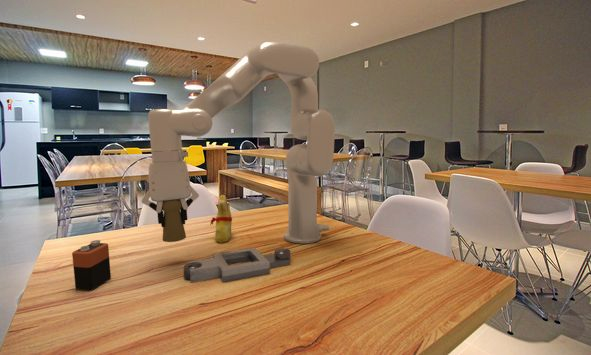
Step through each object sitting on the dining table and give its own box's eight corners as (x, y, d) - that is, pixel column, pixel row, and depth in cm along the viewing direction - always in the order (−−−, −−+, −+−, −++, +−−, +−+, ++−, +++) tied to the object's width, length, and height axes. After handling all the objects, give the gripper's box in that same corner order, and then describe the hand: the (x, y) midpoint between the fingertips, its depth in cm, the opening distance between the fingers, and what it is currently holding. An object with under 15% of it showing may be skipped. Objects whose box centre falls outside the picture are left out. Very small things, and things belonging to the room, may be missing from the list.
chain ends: (281, 253, 99) (281, 243, 99) (298, 268, 88) (298, 257, 88) (181, 269, 87) (180, 258, 87) (187, 289, 77) (186, 276, 76)
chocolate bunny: (234, 233, 118) (233, 191, 116) (229, 243, 107) (227, 198, 105) (214, 233, 118) (213, 191, 116) (207, 244, 107) (206, 198, 105)
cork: (178, 242, 87) (175, 201, 85) (157, 241, 88) (154, 201, 87) (190, 235, 93) (187, 196, 91) (170, 234, 94) (167, 196, 92)
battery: (112, 278, 82) (108, 239, 81) (91, 291, 76) (88, 249, 74) (95, 277, 83) (92, 238, 81) (74, 290, 76) (70, 248, 75)
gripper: (198, 154, 94) (202, 216, 97) (131, 158, 87) (138, 225, 90) (203, 156, 87) (207, 223, 90) (131, 160, 80) (138, 233, 83)
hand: (173, 223), depth 90 cm, fingers closed on cork, 4 cm apart
